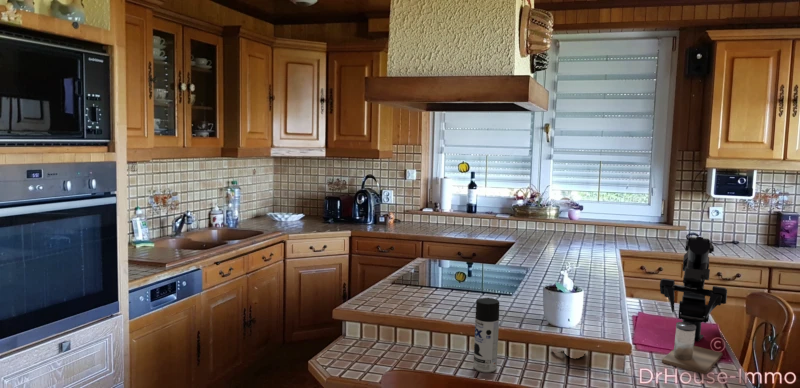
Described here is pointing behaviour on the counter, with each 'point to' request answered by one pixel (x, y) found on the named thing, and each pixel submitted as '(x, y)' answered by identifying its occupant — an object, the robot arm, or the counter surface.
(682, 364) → the tan wooden panel
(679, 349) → the metal tin
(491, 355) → the spray can
